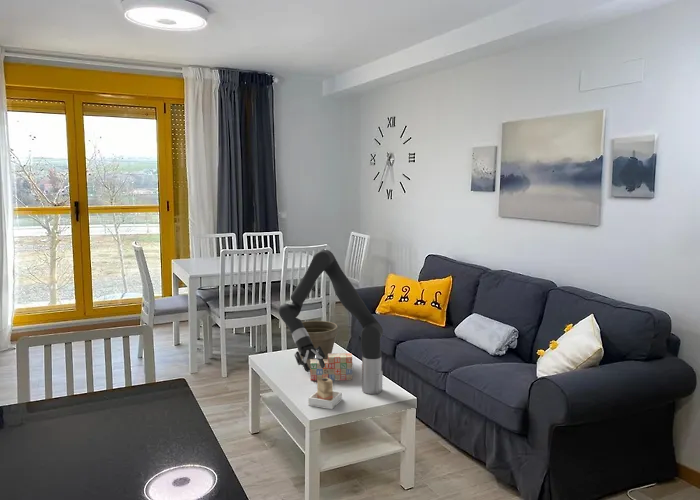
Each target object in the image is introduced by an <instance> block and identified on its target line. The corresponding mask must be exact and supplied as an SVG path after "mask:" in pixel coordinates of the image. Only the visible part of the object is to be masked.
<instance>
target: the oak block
mask: <svg viewBox="0 0 700 500" xmlns="http://www.w3.org/2000/svg"><path fill="white" fill-rule="evenodd" d="M316 381H317V382H316V383H317V390H316V391H317V399H323V400H329V401H331V400H332V399H333V391H334V389H333V388H334V385H333V381H334V380H331V379H329V378H327V377H324V378H321V379H317V380H316Z"/></svg>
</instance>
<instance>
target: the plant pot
mask: <svg viewBox="0 0 700 500" xmlns="http://www.w3.org/2000/svg"><path fill="white" fill-rule="evenodd" d="M302 323H303V325H304V327H305V329H306V331H307V332H308V334H309V336H310V339H311V341H312V343H313V346H314V348H318V347H319V346H320V347H321V349H322V351H323V353H324V354H325V357H324V358H323V359H328V353H333V349H334V345H335V341H336V337H337V336H338V327H339V326H338V325H337V324H336V323H334V322H331V321H327V320H307V321H302ZM297 351H298V352H299V350H298V349H297ZM316 352H317V351H316ZM317 353H318V352H317ZM315 356H316V355H315ZM300 357H301V359H303V357H302V356H301V355H300ZM312 359H314V358H312ZM306 363H307V364H308V367H309V369H310V359H308V360H307V361H306Z"/></svg>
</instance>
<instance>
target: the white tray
mask: <svg viewBox="0 0 700 500" xmlns="http://www.w3.org/2000/svg"><path fill="white" fill-rule="evenodd" d="M342 400H343V392H342V391H335V390H333V399H332V400H331V401H329V400H323V399H317V390H315V392H314V393H312V394H311V395H310V396H309V397H308V400H307V401H308V403H307V404H308V406H311V407H317V408H322V409H329V410H333V409H334V408H335V407H336V406H337V405H338V404H339V403H340V402H341V401H342Z"/></svg>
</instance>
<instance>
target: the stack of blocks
mask: <svg viewBox="0 0 700 500" xmlns="http://www.w3.org/2000/svg"><path fill="white" fill-rule="evenodd" d="M323 361H324V363H325V367H324V368H321V365H320V363H319V361H318V360H317V359H310V368H309V369H310V371H309V372H310V377H309V378H310V381H317V379H321V378H324V377H327V378H329V379H331V380H333V381H351V380H352V381H353V364H354V363H353V354H352V353H351V352H350V353H349V352H339V353H338V352H336V353H335V352H334V353H333V352H332V353H328V359H323Z"/></svg>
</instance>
